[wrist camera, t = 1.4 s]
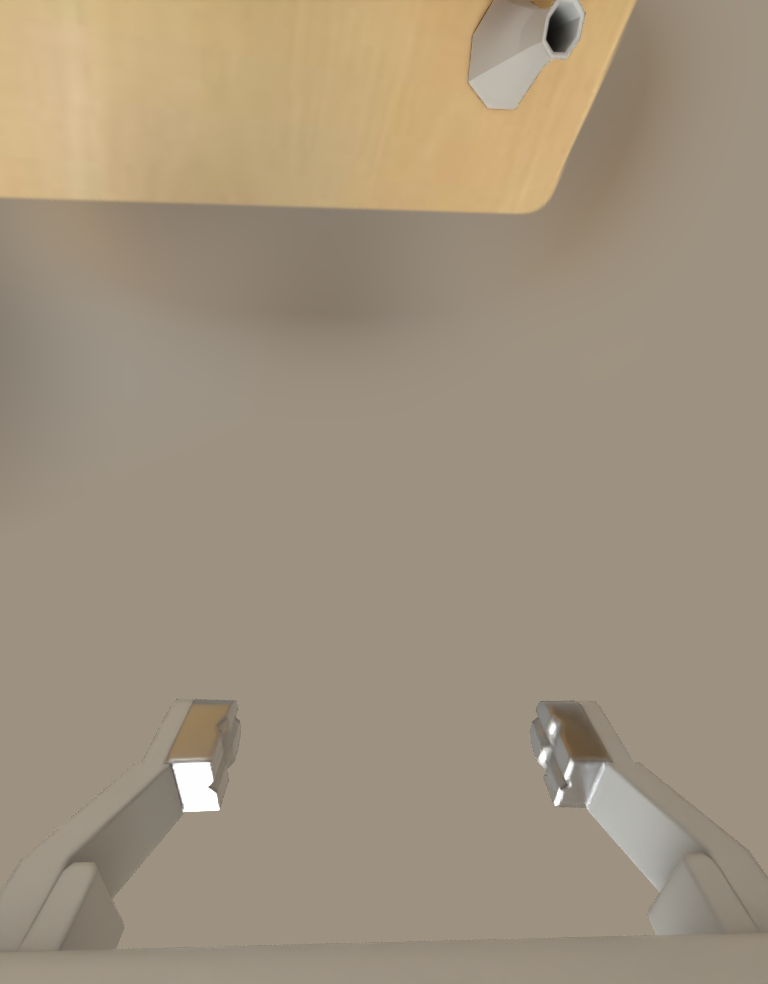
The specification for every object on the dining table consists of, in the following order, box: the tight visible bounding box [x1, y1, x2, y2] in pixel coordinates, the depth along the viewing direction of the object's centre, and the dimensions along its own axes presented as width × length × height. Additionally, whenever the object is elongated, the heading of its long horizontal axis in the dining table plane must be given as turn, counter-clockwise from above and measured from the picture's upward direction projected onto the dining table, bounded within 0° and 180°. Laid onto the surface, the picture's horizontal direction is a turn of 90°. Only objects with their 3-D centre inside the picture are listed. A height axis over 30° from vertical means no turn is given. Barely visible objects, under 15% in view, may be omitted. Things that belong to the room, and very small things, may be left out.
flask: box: [468, 0, 586, 110], centre depth 32 cm, size 7×7×10 cm
